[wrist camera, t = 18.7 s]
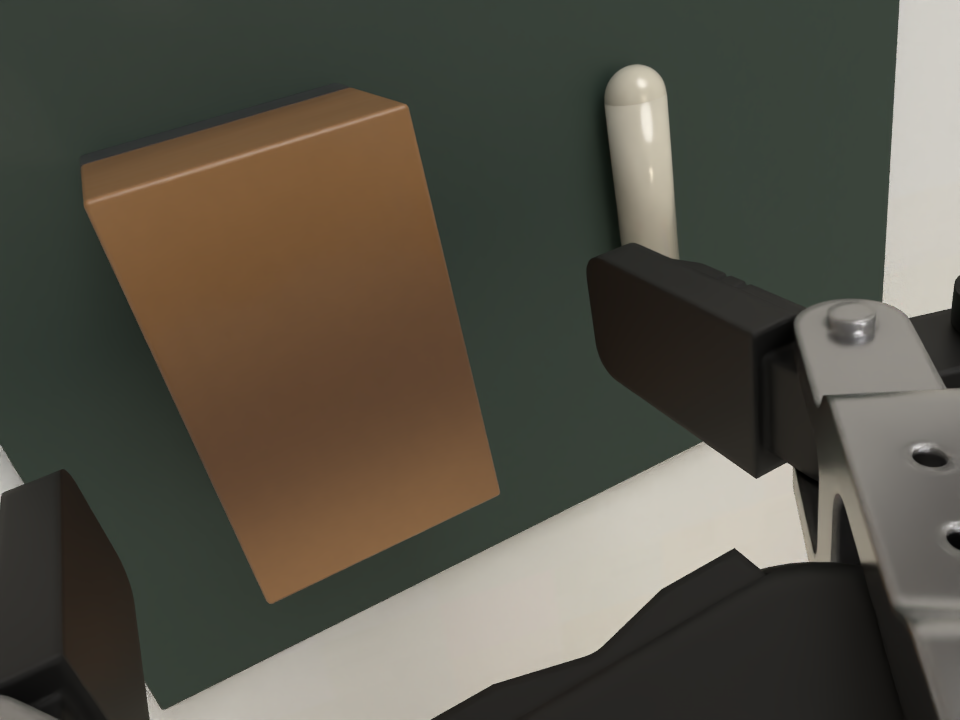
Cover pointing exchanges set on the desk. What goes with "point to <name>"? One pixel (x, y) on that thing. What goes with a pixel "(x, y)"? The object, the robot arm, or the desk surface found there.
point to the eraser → (300, 323)
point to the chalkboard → (463, 234)
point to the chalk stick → (642, 159)
